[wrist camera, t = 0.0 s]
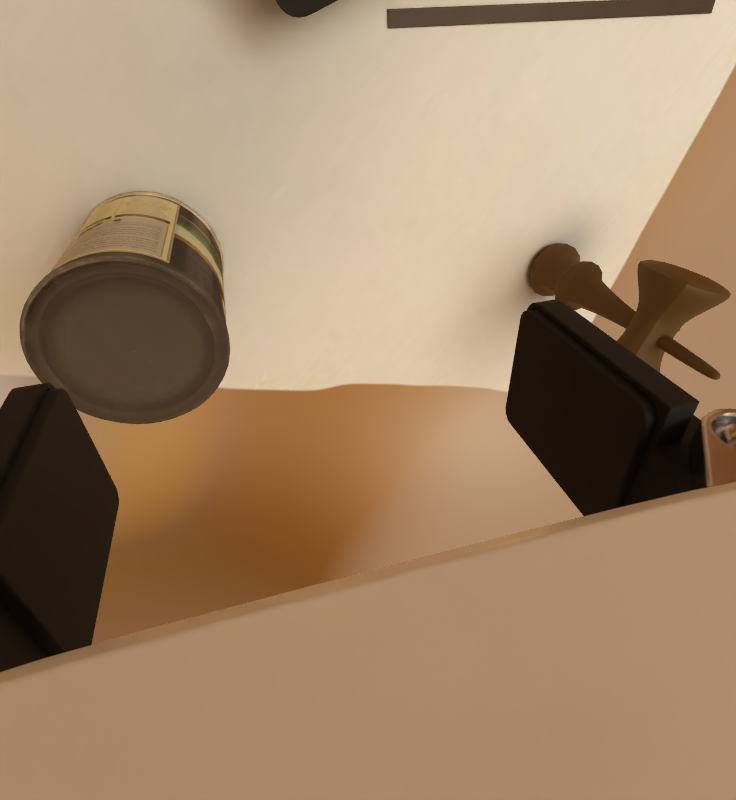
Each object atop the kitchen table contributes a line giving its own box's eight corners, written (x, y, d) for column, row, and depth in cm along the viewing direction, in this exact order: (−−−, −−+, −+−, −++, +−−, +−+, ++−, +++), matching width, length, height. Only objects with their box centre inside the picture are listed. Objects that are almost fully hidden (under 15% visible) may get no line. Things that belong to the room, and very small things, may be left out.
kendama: (598, 224, 46) (800, 316, 30) (552, 316, 51) (705, 437, 35) (547, 210, 44) (737, 303, 28) (504, 308, 48) (644, 433, 33)
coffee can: (246, 234, 38) (261, 311, 27) (192, 339, 42) (187, 444, 31) (105, 158, 33) (53, 216, 22) (59, 286, 37) (-5, 390, 26)
